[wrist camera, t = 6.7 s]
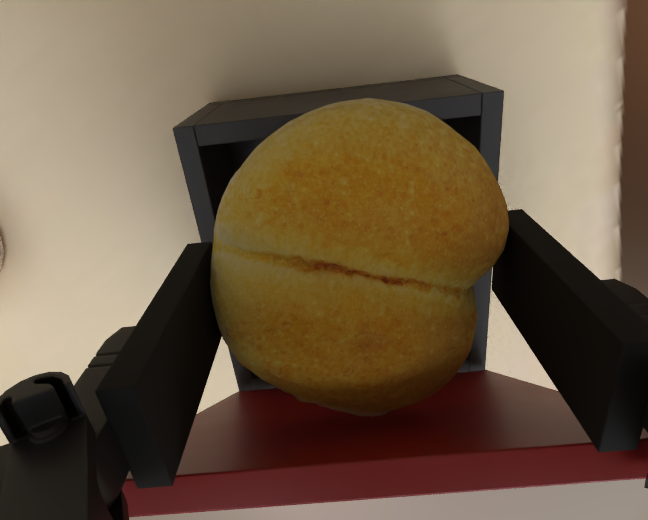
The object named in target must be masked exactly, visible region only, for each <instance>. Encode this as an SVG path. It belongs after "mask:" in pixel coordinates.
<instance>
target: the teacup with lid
mask: <svg viewBox="0 0 648 520" xmlns="http://www.w3.org/2000/svg"><path fill="white" fill-rule="evenodd" d="M3 257H4V250H3V243H2V239H1V235H0V269H1V266H2V263H3Z"/></svg>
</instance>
